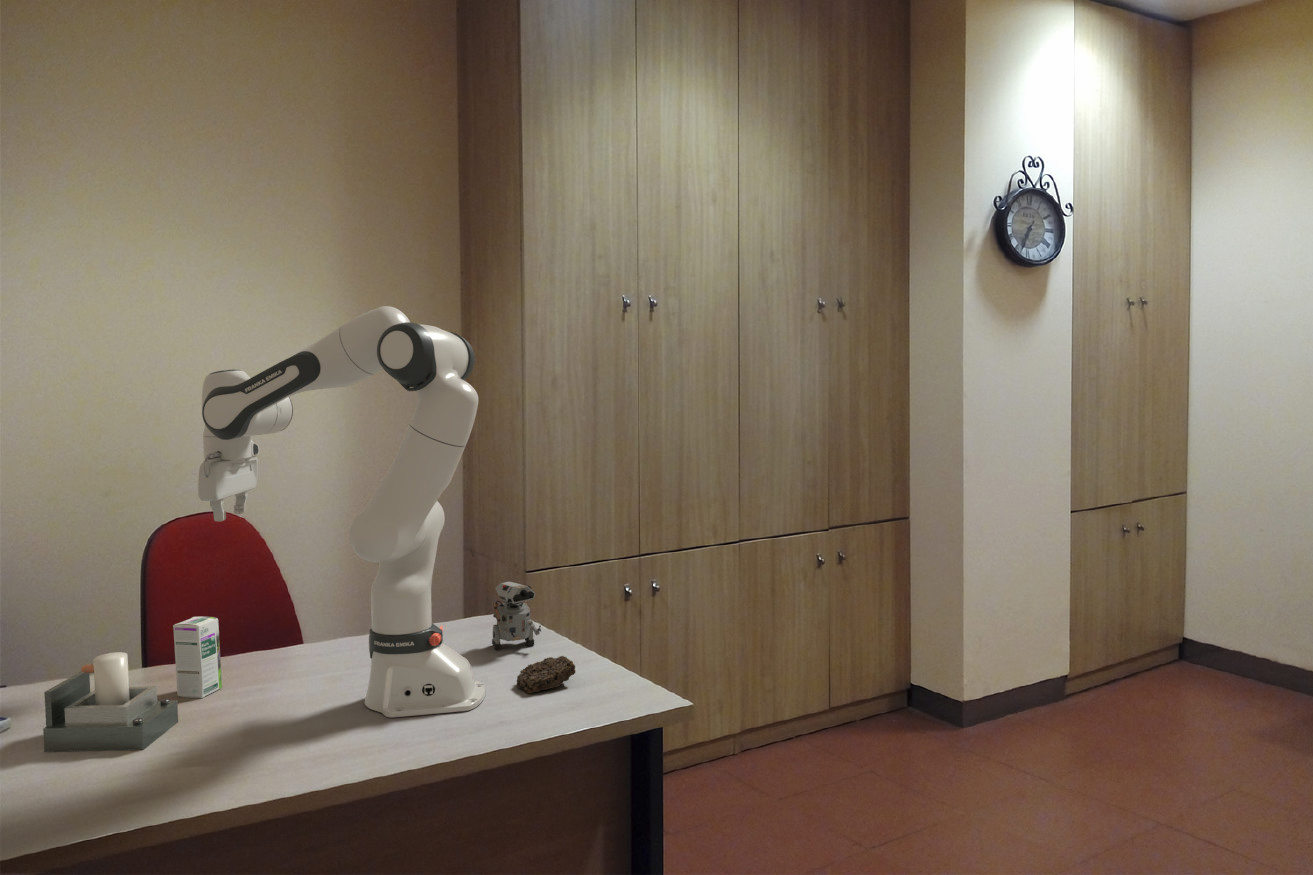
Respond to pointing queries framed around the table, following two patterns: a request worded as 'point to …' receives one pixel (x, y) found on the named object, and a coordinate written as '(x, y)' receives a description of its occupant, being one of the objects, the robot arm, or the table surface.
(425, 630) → the robot arm
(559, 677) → the brown porous lump
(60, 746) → the bolted metal fixture
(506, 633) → the figurine
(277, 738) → the table surface
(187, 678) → the syrup box
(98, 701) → the white rounded piece
